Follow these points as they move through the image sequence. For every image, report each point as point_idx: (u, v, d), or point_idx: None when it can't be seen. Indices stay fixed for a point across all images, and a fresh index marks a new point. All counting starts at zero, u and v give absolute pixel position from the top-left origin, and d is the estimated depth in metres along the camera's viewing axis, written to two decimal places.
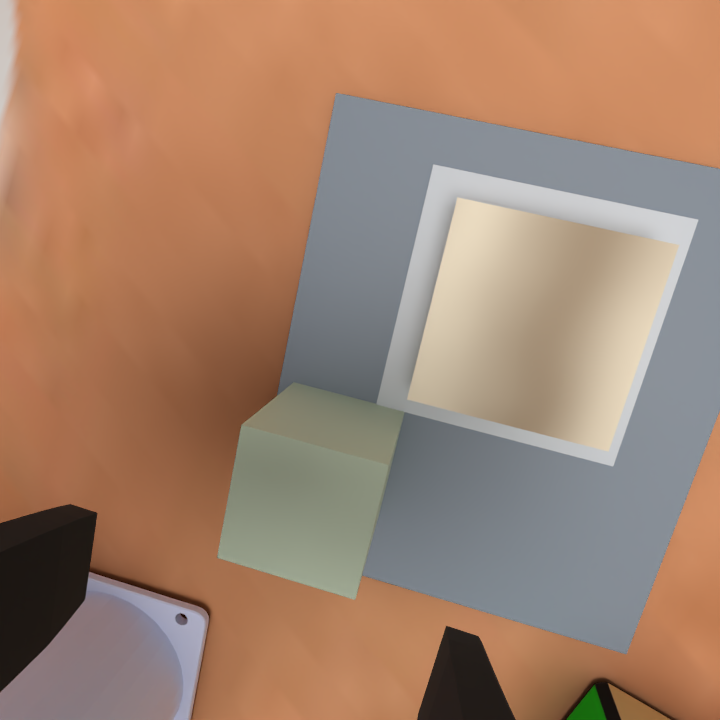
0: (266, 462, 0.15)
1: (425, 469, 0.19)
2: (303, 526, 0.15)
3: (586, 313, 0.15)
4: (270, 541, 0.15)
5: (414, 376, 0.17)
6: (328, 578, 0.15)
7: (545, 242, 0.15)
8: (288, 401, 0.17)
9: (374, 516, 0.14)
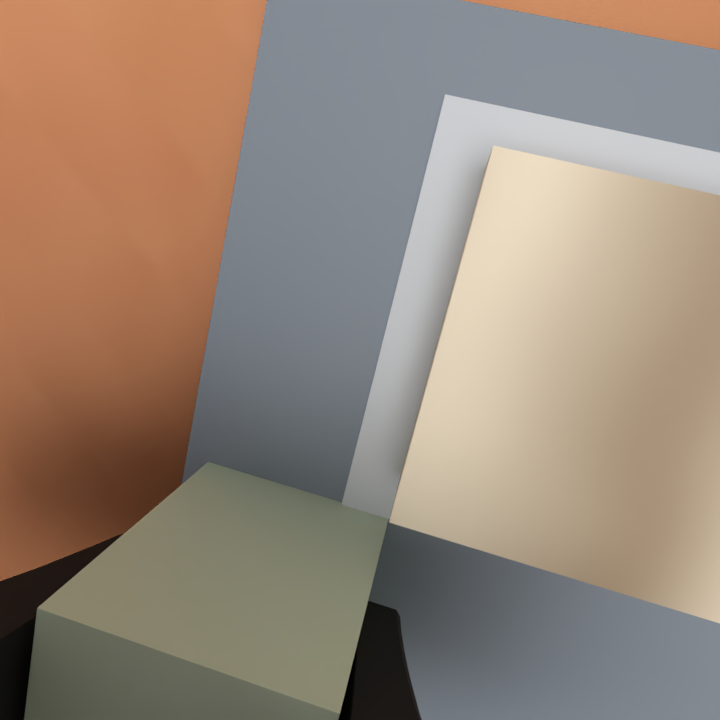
0: (91, 684, 0.07)
1: (421, 610, 0.12)
2: None
3: None
4: None
5: (403, 482, 0.09)
6: None
7: (668, 237, 0.08)
8: (178, 515, 0.10)
9: None
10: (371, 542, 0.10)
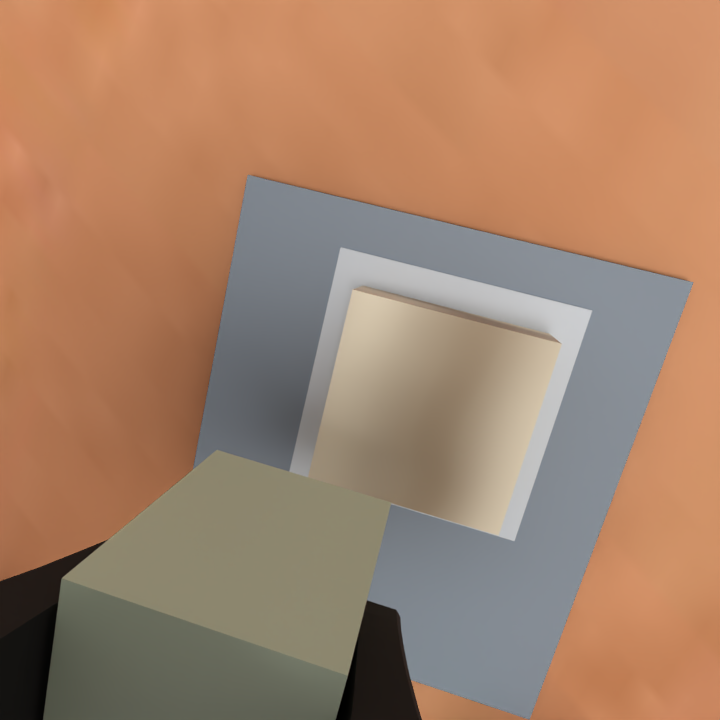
0: (112, 651, 0.07)
1: None
2: None
3: (475, 404, 0.16)
4: None
5: (314, 456, 0.17)
6: None
7: (436, 335, 0.16)
8: (190, 498, 0.10)
9: None
10: (375, 525, 0.11)
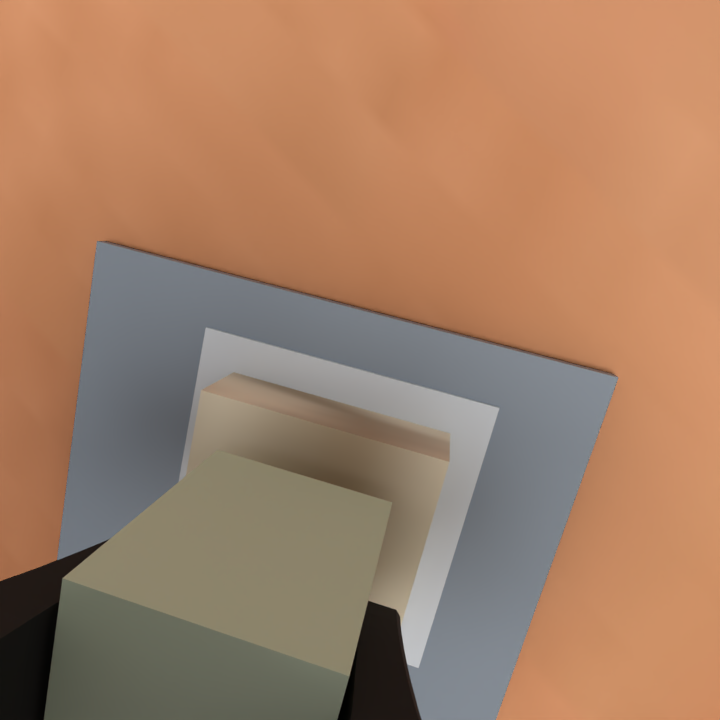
0: (113, 651, 0.07)
1: None
2: None
3: None
4: None
5: None
6: None
7: (301, 447, 0.13)
8: (191, 497, 0.10)
9: None
10: (376, 525, 0.11)
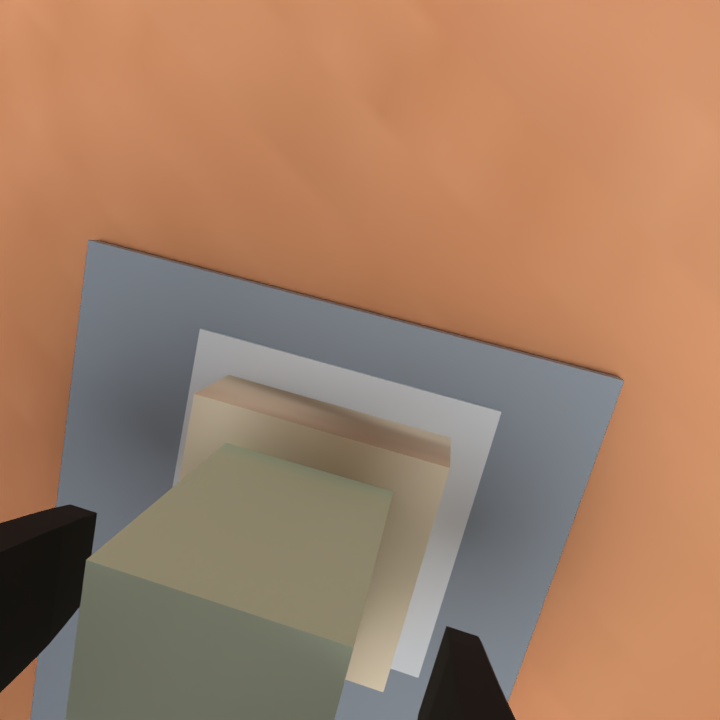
0: (133, 628, 0.08)
1: None
2: None
3: None
4: None
5: None
6: None
7: (297, 452, 0.13)
8: (202, 487, 0.11)
9: None
10: (377, 512, 0.11)
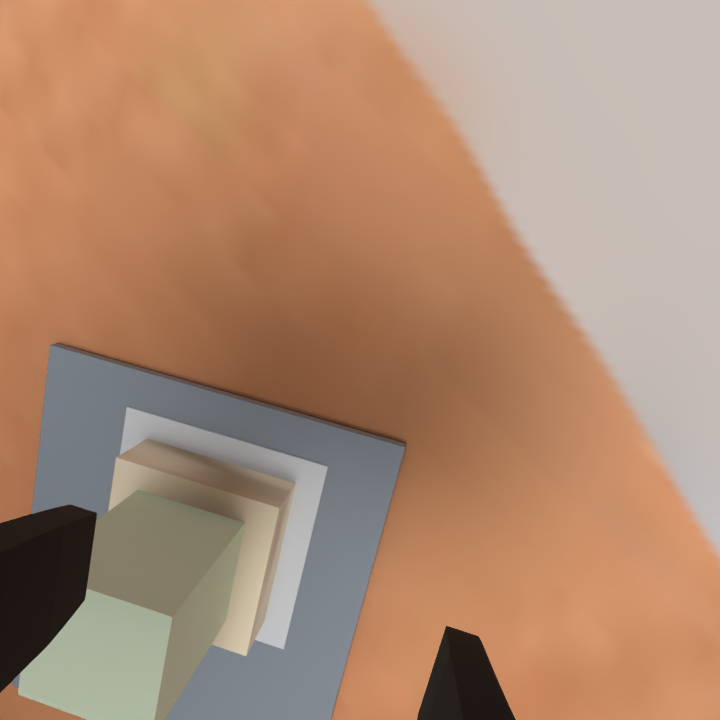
0: None
1: None
2: (96, 669, 0.15)
3: None
4: (66, 682, 0.15)
5: None
6: None
7: (183, 496, 0.19)
8: (111, 523, 0.17)
9: (162, 665, 0.14)
10: (226, 538, 0.18)
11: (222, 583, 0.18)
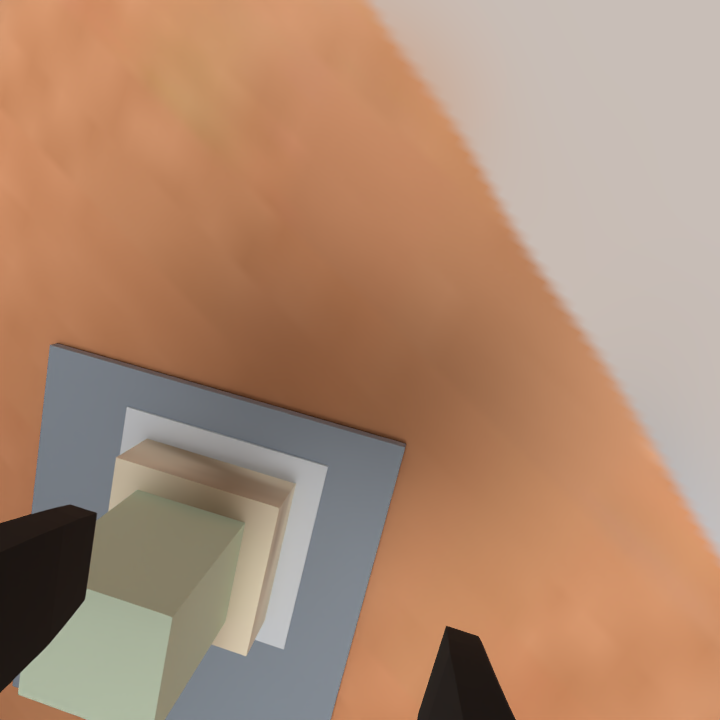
0: None
1: None
2: (96, 669, 0.15)
3: None
4: (66, 682, 0.15)
5: None
6: None
7: (183, 496, 0.19)
8: (111, 523, 0.17)
9: (162, 665, 0.14)
10: (226, 538, 0.18)
11: (222, 583, 0.18)
